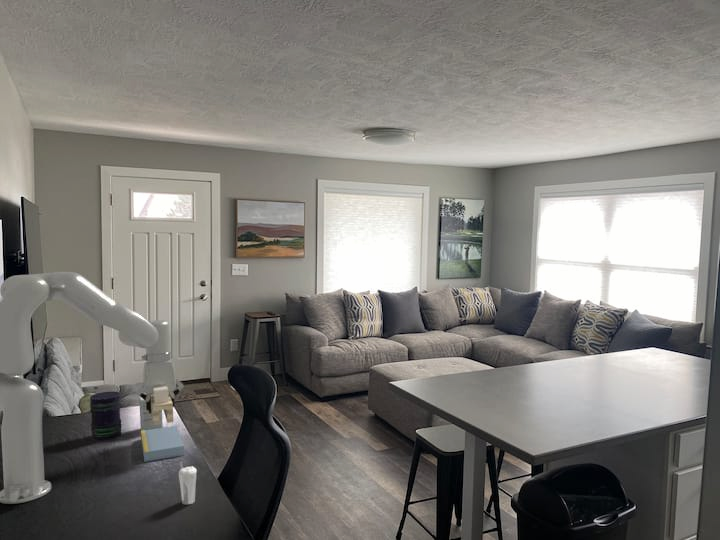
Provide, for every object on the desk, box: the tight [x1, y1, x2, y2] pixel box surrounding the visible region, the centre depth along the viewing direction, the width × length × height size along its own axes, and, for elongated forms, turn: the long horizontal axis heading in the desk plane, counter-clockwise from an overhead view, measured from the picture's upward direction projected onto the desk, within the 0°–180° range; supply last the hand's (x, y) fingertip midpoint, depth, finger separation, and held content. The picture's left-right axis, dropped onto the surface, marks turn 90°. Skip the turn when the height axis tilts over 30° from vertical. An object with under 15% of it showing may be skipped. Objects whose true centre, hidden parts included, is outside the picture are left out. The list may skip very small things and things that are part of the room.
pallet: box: [150, 392, 174, 425], centre depth 183 cm, size 22×6×6 cm, turn 24°
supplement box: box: [138, 395, 164, 431], centre depth 200 cm, size 7×7×13 cm
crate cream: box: [153, 386, 169, 404], centre depth 176 cm, size 4×4×4 cm
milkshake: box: [178, 461, 198, 506], centre depth 143 cm, size 4×5×10 cm
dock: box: [140, 425, 185, 463], centre depth 183 cm, size 22×12×3 cm, turn 24°
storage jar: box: [89, 386, 122, 442], centre depth 194 cm, size 10×10×18 cm
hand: (160, 410), depth 183 cm, fingers closed on pallet, 6 cm apart
